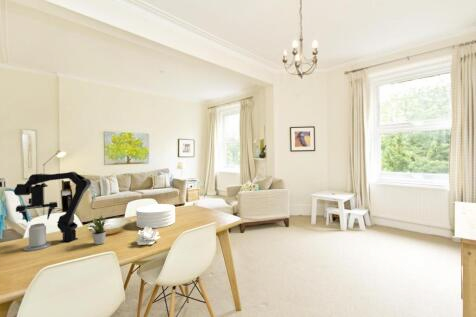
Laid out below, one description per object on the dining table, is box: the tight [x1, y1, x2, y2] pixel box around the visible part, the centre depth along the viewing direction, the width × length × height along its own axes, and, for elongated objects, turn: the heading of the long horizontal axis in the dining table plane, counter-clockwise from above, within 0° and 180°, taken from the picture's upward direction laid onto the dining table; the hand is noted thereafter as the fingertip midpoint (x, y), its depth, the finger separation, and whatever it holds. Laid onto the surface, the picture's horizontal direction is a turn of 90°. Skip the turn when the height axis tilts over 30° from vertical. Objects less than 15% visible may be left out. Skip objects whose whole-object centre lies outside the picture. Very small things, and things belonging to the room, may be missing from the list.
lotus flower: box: [133, 226, 161, 246], centre depth 140 cm, size 14×15×9 cm
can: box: [28, 222, 47, 248], centre depth 134 cm, size 8×8×12 cm
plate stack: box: [135, 203, 176, 229], centre depth 181 cm, size 28×28×12 cm
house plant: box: [85, 214, 110, 245], centre depth 140 cm, size 14×14×16 cm
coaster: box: [23, 241, 52, 252], centre depth 134 cm, size 12×12×1 cm
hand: (37, 220), depth 141 cm, fingers open, 9 cm apart
